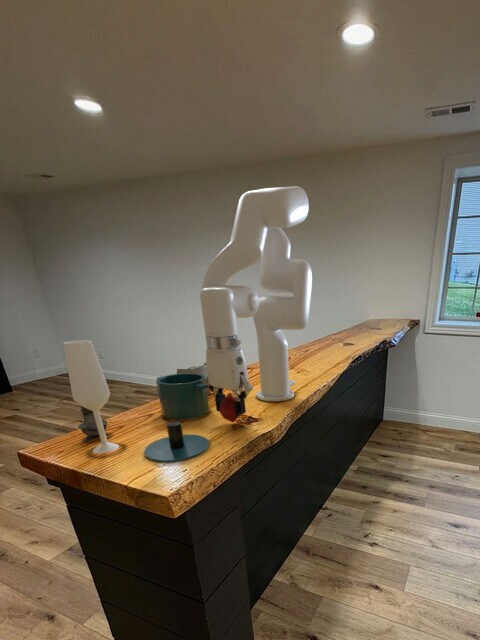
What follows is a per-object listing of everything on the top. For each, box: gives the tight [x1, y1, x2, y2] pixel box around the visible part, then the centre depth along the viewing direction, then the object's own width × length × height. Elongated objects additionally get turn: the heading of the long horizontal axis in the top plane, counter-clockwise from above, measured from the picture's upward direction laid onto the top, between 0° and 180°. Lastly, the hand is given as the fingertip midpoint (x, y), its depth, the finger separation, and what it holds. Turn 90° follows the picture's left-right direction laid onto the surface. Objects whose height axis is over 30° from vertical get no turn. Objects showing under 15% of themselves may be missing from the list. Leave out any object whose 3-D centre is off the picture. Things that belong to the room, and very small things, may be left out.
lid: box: [143, 420, 210, 463], centre depth 77 cm, size 14×14×7 cm
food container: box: [176, 362, 211, 397], centre depth 116 cm, size 12×6×10 cm, turn 150°
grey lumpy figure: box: [78, 405, 108, 442], centre depth 82 cm, size 6×6×12 cm
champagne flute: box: [62, 339, 120, 454], centre depth 74 cm, size 7×7×24 cm
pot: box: [156, 373, 210, 421], centre depth 99 cm, size 13×18×10 cm
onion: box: [219, 392, 240, 423], centre depth 91 cm, size 6×6×8 cm
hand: (231, 411), depth 92 cm, fingers closed on onion, 5 cm apart
